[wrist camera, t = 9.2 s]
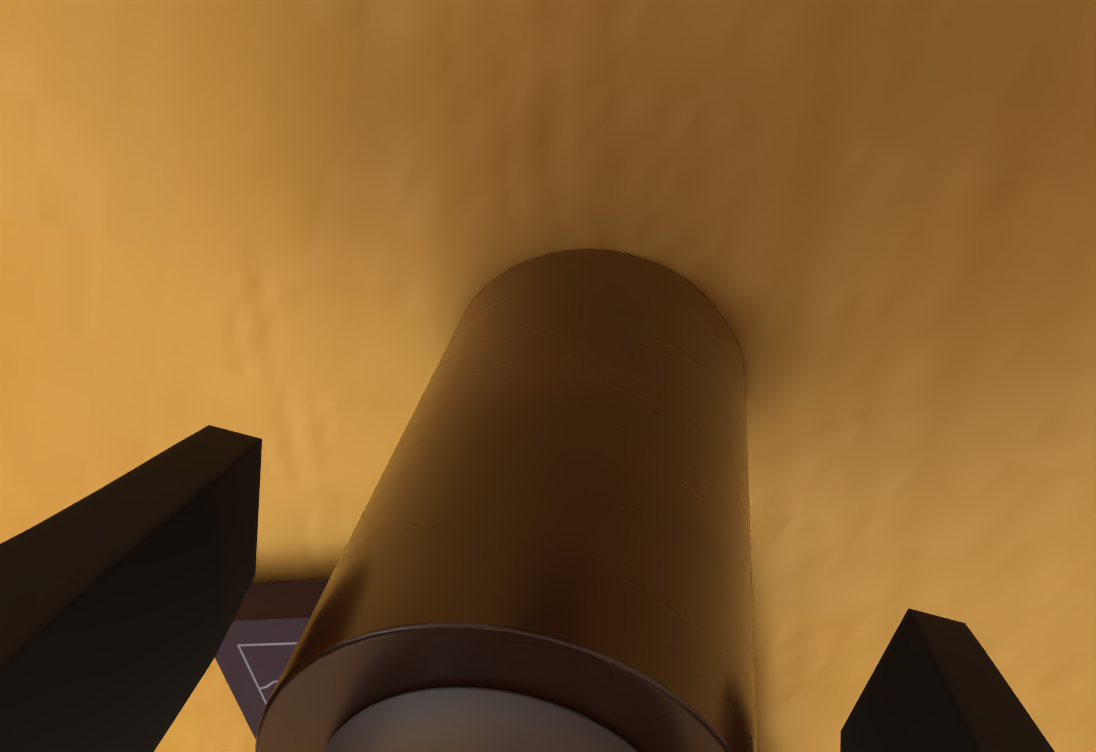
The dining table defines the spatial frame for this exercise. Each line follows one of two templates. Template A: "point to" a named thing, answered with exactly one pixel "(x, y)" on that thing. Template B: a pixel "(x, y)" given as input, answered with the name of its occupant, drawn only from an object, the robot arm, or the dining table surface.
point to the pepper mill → (549, 538)
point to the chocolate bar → (265, 640)
